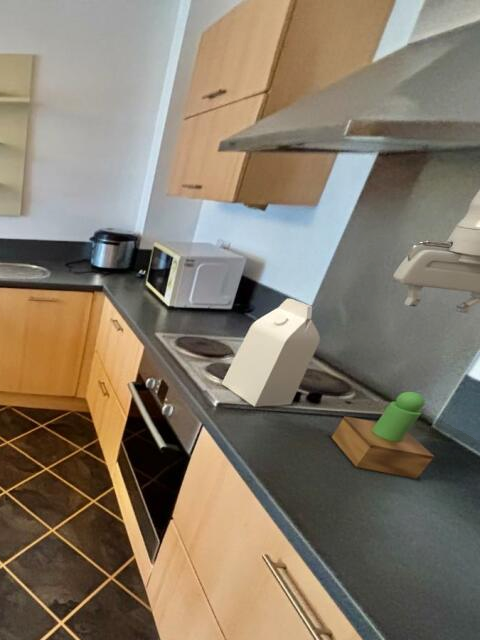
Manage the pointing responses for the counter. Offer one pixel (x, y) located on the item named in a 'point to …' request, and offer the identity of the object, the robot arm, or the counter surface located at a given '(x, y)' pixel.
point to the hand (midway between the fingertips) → (434, 308)
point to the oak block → (380, 449)
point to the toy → (399, 416)
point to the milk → (274, 356)
